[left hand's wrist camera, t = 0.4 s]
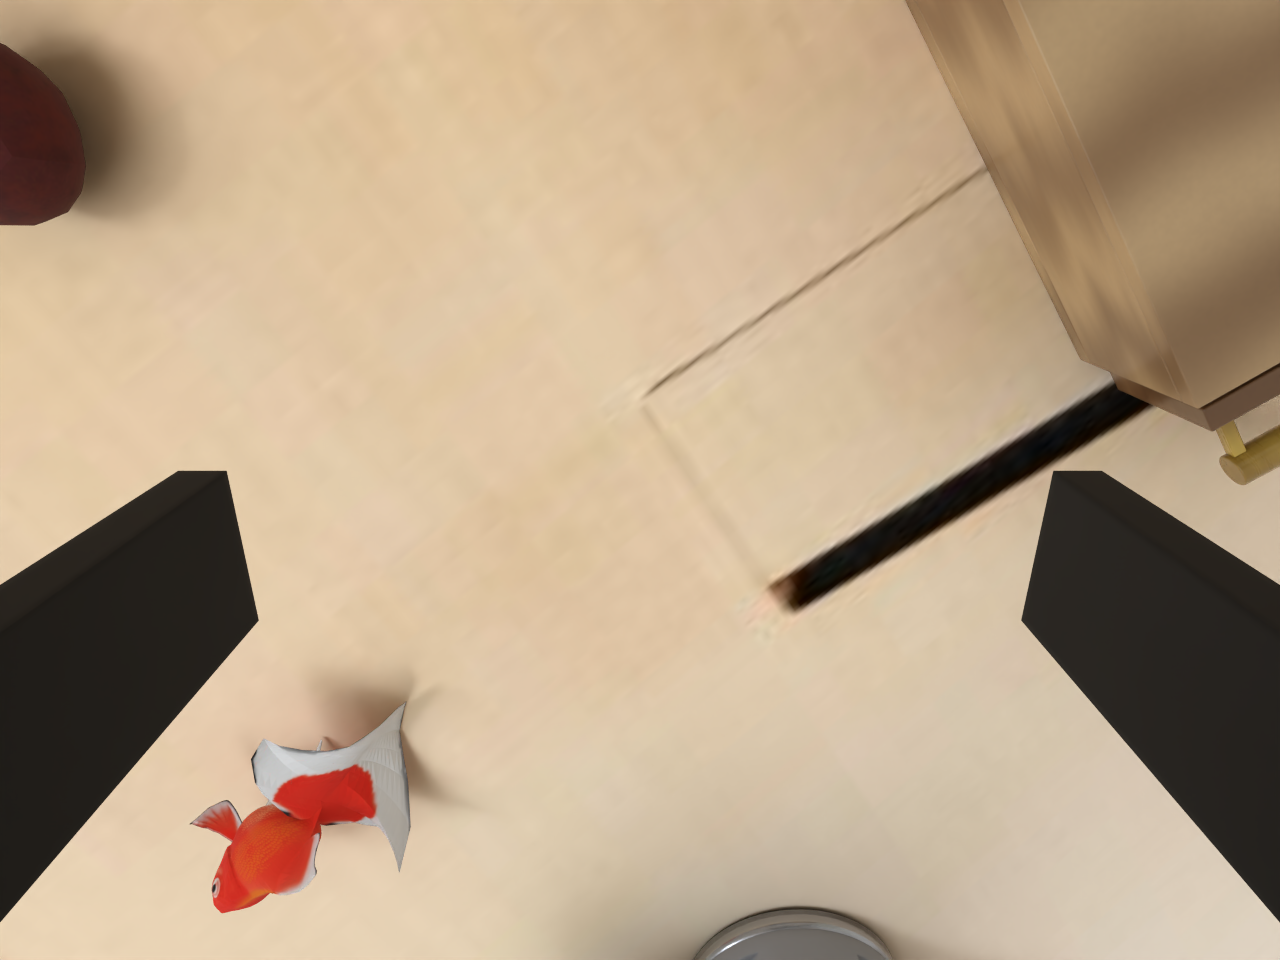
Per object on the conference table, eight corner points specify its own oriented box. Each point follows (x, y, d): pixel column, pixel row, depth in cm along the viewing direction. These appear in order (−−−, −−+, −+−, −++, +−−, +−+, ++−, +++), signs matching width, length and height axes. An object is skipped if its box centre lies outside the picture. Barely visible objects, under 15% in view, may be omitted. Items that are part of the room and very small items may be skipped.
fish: (110, 789, 43) (110, 940, 36) (348, 616, 47) (393, 721, 39) (238, 863, 50) (261, 1003, 43) (438, 707, 54) (491, 811, 46)
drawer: (1346, 378, 38) (1487, 419, 32) (1161, 480, 41) (1259, 538, 34) (1164, -127, 31) (1302, -206, 24) (946, 31, 33) (1021, -4, 26)
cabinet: (1293, 232, 37) (1482, 249, 29) (1080, 360, 39) (1197, 409, 31) (1133, -211, 31) (1315, -353, 22) (891, -28, 33) (975, -96, 25)
